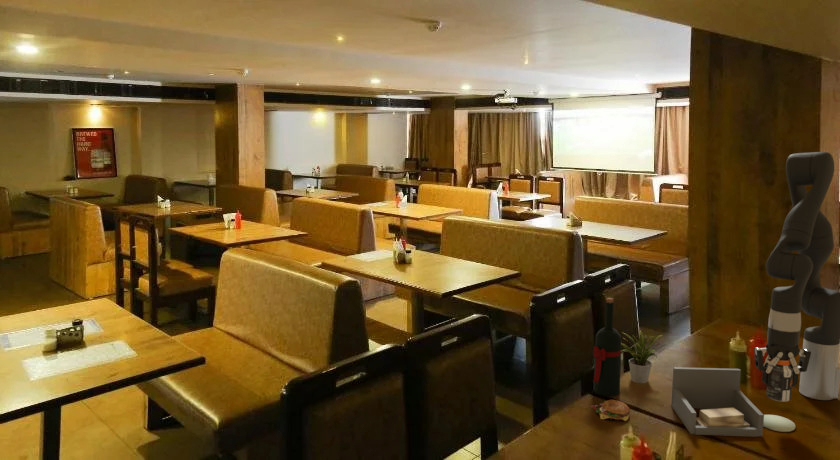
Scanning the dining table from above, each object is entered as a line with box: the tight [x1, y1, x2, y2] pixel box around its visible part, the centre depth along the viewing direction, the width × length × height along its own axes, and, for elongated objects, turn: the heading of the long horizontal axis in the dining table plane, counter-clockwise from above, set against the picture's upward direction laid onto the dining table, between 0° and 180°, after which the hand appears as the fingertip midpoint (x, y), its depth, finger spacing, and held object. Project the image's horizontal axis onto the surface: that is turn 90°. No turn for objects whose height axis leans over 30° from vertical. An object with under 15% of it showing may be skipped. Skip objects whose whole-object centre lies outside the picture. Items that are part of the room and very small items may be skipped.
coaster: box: [763, 414, 796, 433], centre depth 171 cm, size 9×9×1 cm
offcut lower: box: [696, 416, 750, 427], centre depth 170 cm, size 13×5×2 cm, turn 91°
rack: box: [671, 366, 765, 438], centre depth 173 cm, size 18×18×12 cm
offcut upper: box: [699, 407, 744, 426], centre depth 169 cm, size 10×5×2 cm, turn 97°
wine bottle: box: [592, 297, 622, 397], centre depth 191 cm, size 8×10×30 cm
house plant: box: [621, 329, 664, 384], centre depth 202 cm, size 14×14×16 cm
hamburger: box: [590, 399, 631, 422], centre depth 179 cm, size 14×14×6 cm
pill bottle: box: [765, 360, 793, 402], centre depth 169 cm, size 6×6×11 cm
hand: (779, 384), depth 170 cm, fingers closed on pill bottle, 6 cm apart
